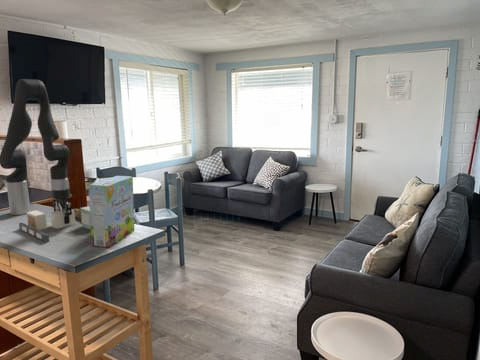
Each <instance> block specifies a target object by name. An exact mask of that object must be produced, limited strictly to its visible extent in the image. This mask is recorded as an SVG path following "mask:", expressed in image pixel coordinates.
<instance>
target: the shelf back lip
mask: <svg viewBox="0 0 480 360" xmlns="http://www.w3.org/2000/svg"><path fill="white" fill-rule="evenodd" d="M73 210H74V212H75V218H78V219H81V210H80V208H73Z"/></svg>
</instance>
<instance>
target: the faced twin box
mask: <svg viewBox="0 0 480 360" xmlns="http://www.w3.org/2000/svg"><path fill="white" fill-rule="evenodd" d="M26 220H27V225H28V226H30V227H32V228H35V229H37V230H39V231H41V230H44V229H48V225H47V216H46V212H45V213H44V212H42V211H40V210H37V209H36V210H32V211H31V210H30V212H27V213H26Z"/></svg>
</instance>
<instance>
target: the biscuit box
mask: <svg viewBox="0 0 480 360" xmlns="http://www.w3.org/2000/svg"><path fill="white" fill-rule="evenodd" d="M69 212H70V211H69ZM65 214H66V213H65ZM50 218H51V226H52V228H54V229H56V230H57V229H61V228H65V227H70V226H73V225H76V217H75V212H74V209H72V215H69V219H70V223H68V224H65V223H64V215H63V212H61V211H55V212H54V211H53V212H50ZM69 225H70V226H69Z"/></svg>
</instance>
